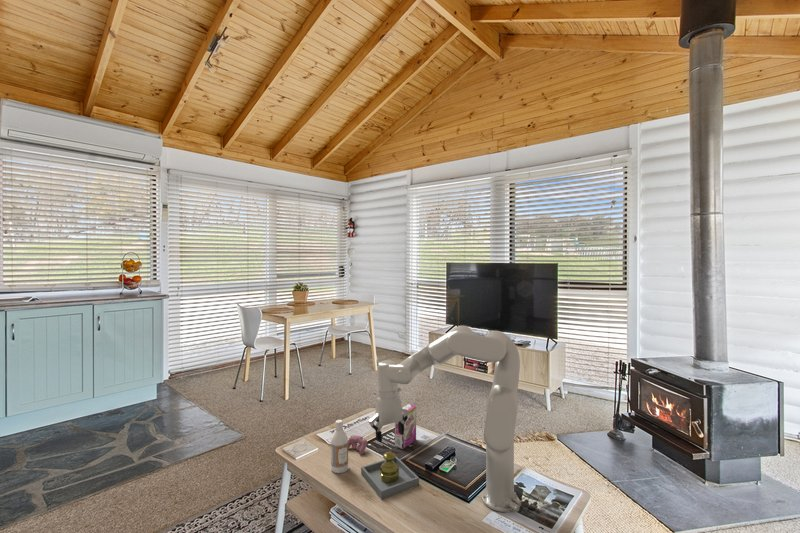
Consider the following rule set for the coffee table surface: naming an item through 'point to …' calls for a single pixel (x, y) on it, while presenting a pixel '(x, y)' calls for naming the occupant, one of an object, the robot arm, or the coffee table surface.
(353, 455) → the coffee table surface
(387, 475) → the salt shaker
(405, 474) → the tray
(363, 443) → the pink lumpy piece
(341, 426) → the bath foam
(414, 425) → the candy bar box
